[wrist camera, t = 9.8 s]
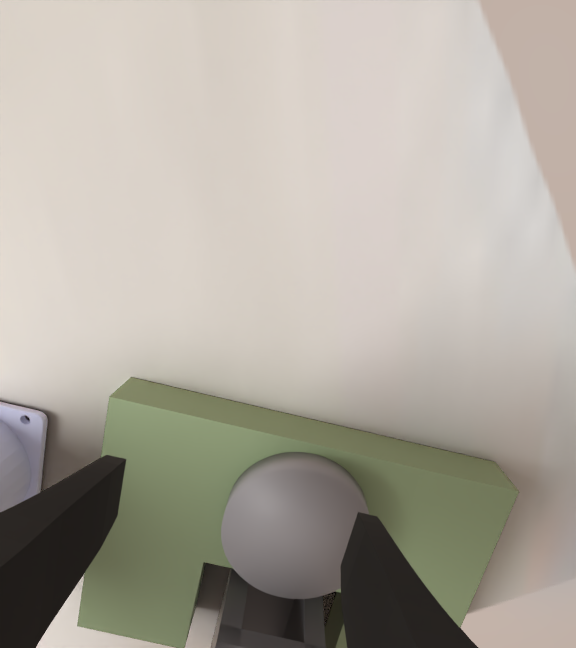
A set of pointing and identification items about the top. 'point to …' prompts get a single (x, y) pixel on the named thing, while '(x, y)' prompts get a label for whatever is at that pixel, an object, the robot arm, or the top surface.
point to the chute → (267, 619)
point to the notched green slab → (274, 510)
